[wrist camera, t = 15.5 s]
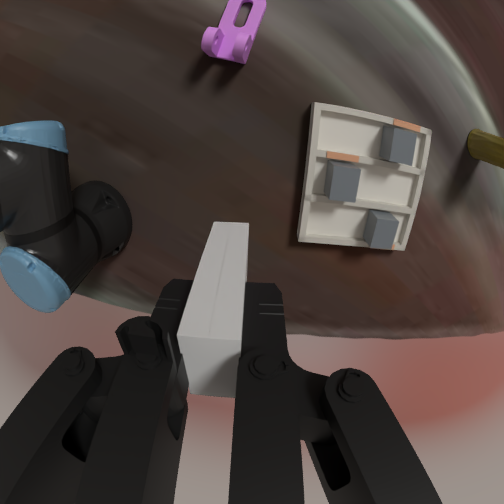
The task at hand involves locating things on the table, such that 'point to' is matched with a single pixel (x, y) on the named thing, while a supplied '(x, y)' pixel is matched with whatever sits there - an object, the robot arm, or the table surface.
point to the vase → (486, 147)
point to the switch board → (371, 178)
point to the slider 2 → (397, 145)
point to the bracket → (234, 32)
